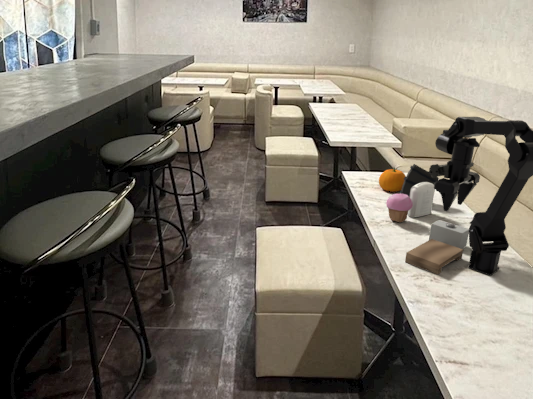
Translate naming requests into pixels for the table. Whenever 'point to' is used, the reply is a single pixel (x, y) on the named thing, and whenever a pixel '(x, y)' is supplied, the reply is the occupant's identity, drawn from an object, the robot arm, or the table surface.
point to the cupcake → (399, 206)
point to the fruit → (392, 180)
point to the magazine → (416, 179)
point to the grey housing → (449, 234)
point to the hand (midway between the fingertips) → (452, 207)
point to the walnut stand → (433, 255)
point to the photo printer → (421, 199)
